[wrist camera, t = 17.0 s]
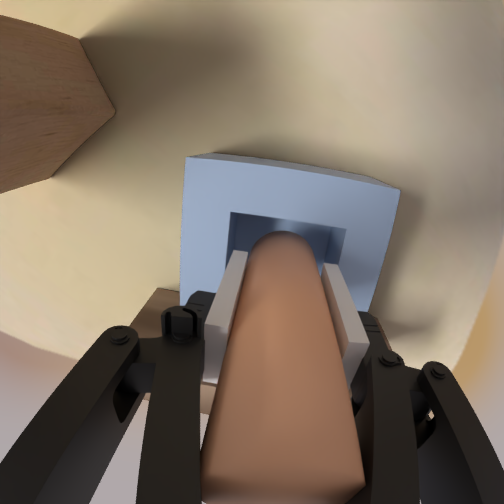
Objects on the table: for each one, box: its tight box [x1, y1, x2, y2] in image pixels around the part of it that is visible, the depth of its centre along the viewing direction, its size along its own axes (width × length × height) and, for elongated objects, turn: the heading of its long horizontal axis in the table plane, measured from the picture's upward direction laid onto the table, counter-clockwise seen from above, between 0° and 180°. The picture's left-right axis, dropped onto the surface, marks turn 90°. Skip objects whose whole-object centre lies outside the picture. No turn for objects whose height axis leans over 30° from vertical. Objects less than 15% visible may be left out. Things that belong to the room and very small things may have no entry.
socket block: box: [180, 153, 401, 312], centre depth 20 cm, size 12×12×6 cm
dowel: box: [200, 231, 366, 504], centre depth 11 cm, size 4×4×14 cm
